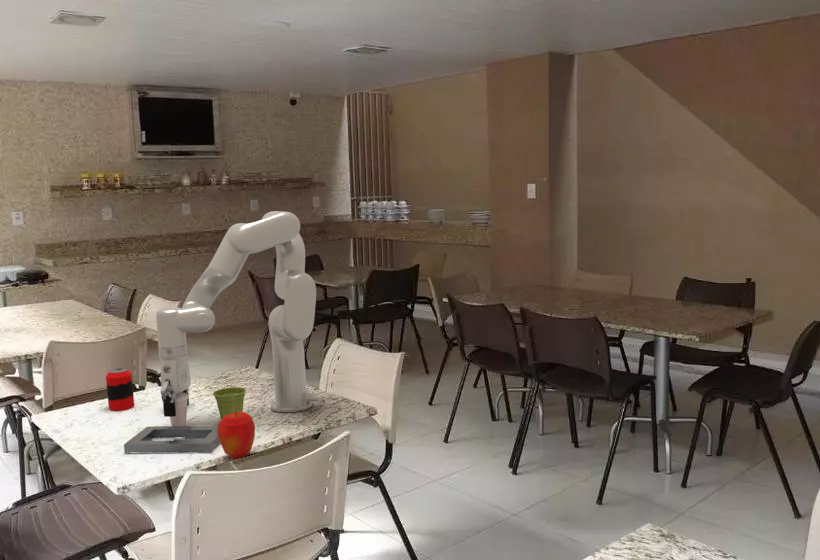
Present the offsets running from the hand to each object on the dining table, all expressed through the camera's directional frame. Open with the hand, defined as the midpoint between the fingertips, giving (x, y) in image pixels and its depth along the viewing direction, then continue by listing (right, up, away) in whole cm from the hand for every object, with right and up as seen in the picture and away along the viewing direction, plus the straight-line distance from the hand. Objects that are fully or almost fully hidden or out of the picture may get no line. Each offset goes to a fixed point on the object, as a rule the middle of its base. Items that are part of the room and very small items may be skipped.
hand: (176, 410), depth 203 cm
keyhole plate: (+5, -7, -11) cm, 14 cm away
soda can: (-25, -3, +23) cm, 35 cm away
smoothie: (0, -5, +1) cm, 5 cm away
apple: (+23, -8, -23) cm, 33 cm away
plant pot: (+14, -4, +7) cm, 16 cm away
